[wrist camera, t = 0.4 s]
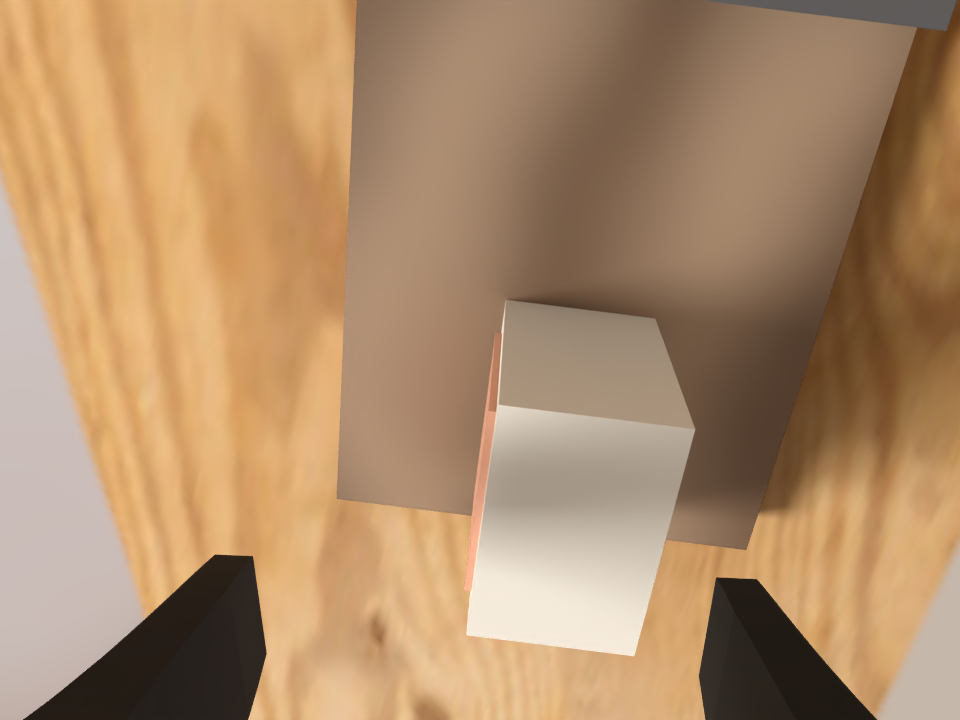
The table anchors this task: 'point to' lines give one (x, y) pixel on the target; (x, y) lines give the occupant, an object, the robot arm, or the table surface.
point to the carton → (574, 478)
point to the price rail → (867, 10)
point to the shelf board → (598, 218)
